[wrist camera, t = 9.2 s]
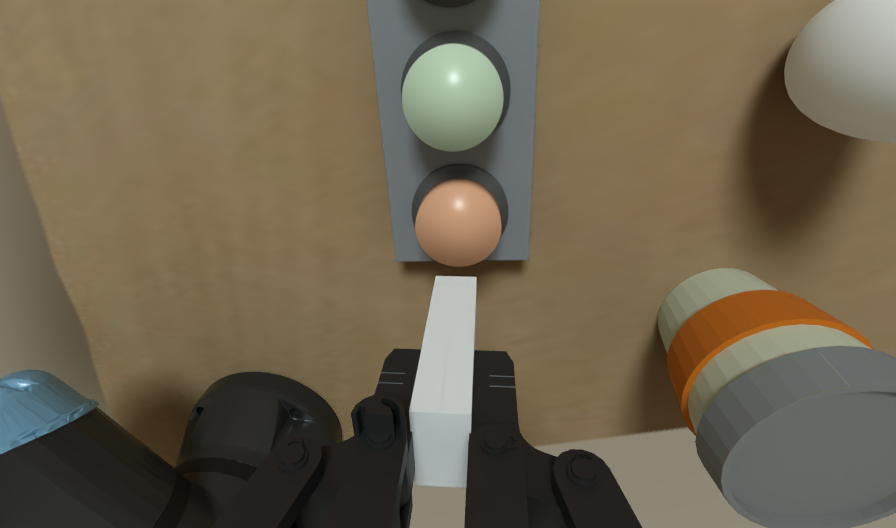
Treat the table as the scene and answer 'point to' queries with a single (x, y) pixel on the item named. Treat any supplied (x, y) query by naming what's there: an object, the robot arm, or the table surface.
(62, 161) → the table surface
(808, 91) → the sauce bottle
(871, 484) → the reusable coffee cup
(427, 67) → the sage button
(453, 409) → the robot arm
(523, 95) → the button panel
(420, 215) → the terracotta button
